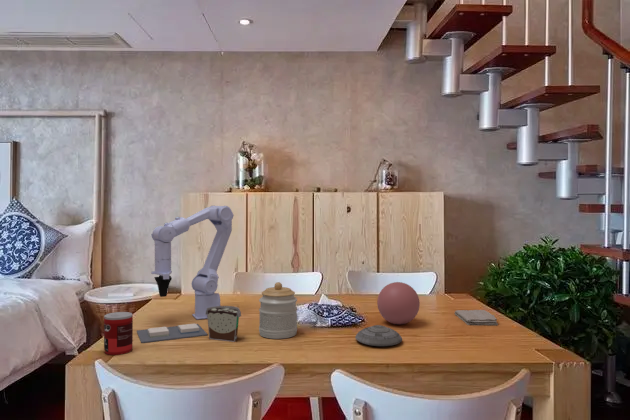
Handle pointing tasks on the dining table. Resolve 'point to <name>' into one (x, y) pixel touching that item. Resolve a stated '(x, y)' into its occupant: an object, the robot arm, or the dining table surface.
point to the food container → (223, 322)
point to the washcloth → (476, 317)
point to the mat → (173, 334)
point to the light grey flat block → (188, 328)
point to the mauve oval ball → (398, 303)
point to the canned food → (118, 333)
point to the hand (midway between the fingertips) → (163, 296)
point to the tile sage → (158, 332)
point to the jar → (278, 313)
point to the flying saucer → (378, 336)
